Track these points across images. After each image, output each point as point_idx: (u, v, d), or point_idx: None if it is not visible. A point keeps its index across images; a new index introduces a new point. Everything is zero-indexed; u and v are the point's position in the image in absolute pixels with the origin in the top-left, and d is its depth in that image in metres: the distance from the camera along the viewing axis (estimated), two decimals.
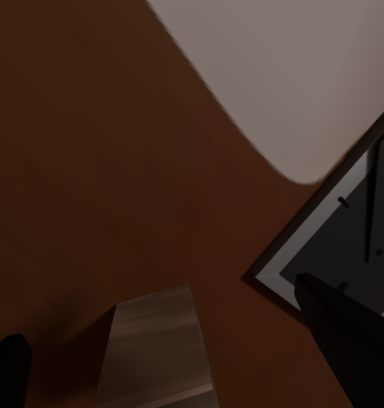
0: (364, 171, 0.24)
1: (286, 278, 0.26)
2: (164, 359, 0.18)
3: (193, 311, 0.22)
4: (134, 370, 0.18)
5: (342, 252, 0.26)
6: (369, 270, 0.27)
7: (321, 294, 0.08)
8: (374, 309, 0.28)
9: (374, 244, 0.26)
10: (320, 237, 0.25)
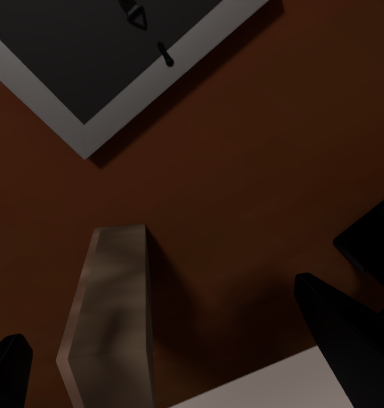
0: None
1: (93, 114, 0.17)
2: None
3: (84, 265, 0.18)
4: None
5: None
6: None
7: (321, 294, 0.08)
8: None
9: None
10: (17, 39, 0.14)
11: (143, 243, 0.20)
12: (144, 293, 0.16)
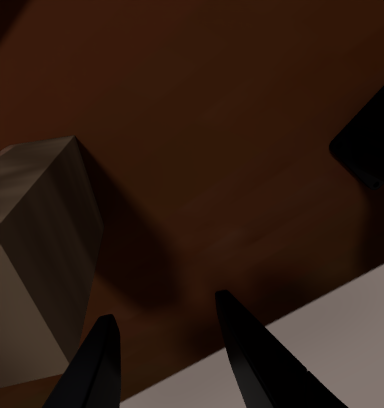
0: None
1: None
2: None
3: None
4: None
5: None
6: None
7: (228, 315, 0.08)
8: None
9: None
10: None
11: (61, 147, 0.15)
12: (32, 183, 0.11)
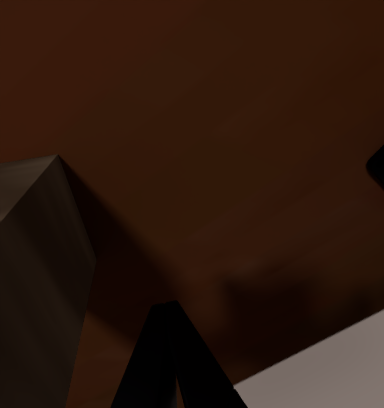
0: None
1: None
2: None
3: None
4: None
5: None
6: None
7: (171, 327, 0.07)
8: None
9: None
10: None
11: (38, 174, 0.12)
12: None
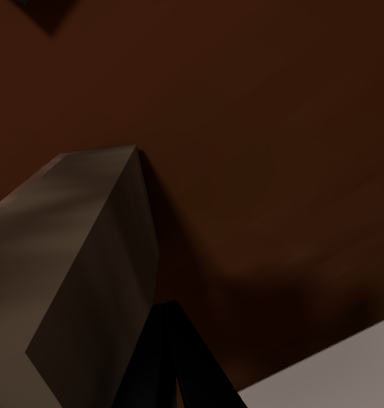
0: None
1: None
2: None
3: None
4: None
5: None
6: None
7: (171, 327, 0.07)
8: None
9: None
10: None
11: (123, 163, 0.12)
12: (89, 228, 0.07)
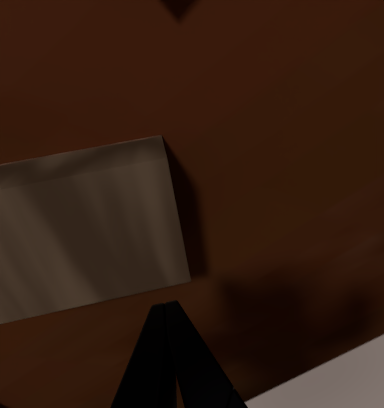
0: None
1: None
2: None
3: None
4: None
5: None
6: None
7: (171, 327, 0.07)
8: None
9: None
10: None
11: (101, 169, 0.11)
12: None
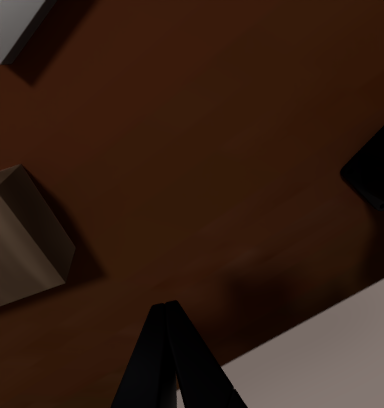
0: None
1: None
2: None
3: None
4: None
5: None
6: None
7: (171, 327, 0.07)
8: None
9: None
10: None
11: None
12: None
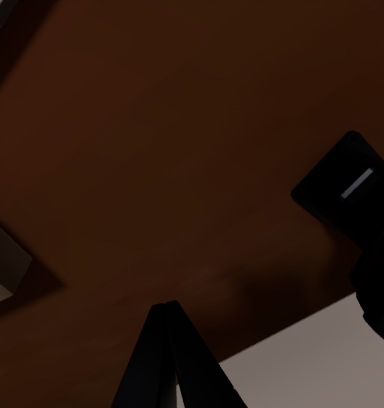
0: None
1: None
2: None
3: None
4: None
5: None
6: None
7: (171, 327, 0.07)
8: None
9: None
10: None
11: None
12: None
